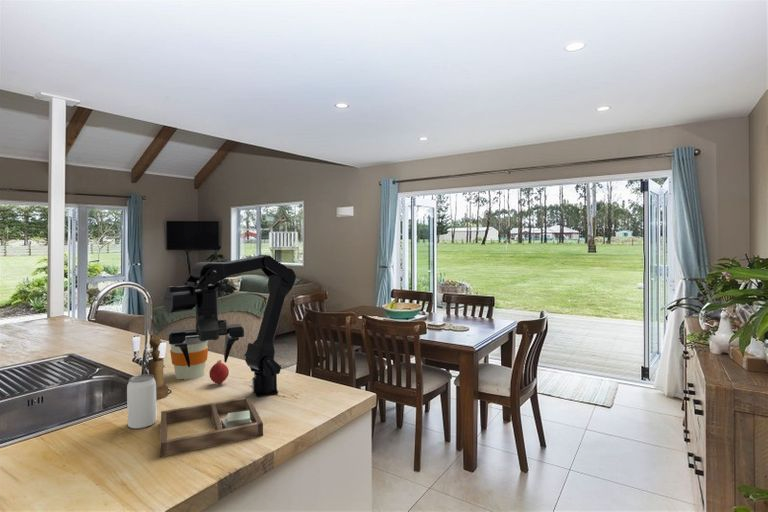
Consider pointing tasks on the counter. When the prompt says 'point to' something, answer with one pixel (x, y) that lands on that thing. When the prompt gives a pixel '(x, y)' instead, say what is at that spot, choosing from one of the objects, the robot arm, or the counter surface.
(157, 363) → the wooden pepper mill
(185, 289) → the robot arm
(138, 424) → the can
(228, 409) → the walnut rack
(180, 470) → the counter surface
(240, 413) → the offcut stack
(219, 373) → the red pomegranate
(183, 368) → the reusable coffee cup
